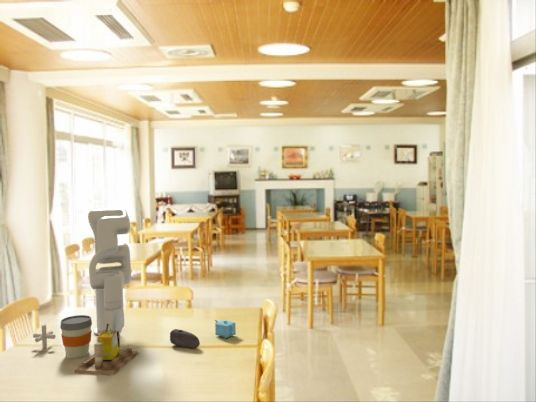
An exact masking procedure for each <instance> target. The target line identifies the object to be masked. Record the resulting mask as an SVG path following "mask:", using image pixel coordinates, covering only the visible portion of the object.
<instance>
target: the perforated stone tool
mask: <svg viewBox="0 0 536 402" xmlns="http://www.w3.org/2000/svg"><path fill="white" fill-rule="evenodd" d="M169 341H170V344H172V345H174V346H176V347H180V348H188V349H197V348H198V347H200V345H201V344H200V343H201V341H200V339H199V338H198V337H197V335H195V334H193V333H191V332H190V331H187V330H183V329H178V328H175V329H172V330H171V331H170V333H169Z"/></svg>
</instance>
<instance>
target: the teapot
mask: <svg viewBox="0 0 536 402" xmlns="http://www.w3.org/2000/svg"><path fill="white" fill-rule="evenodd" d="M214 322H215V323H214V325H215V326H214V327H215V329H214V330H215V333H214V334H215V336H218V337H219V336H222V337H221V338H224V337H225V338H227V339H228V338H230V336H232V337H233V336H235V335H236V329H237V328H236V322H233V321H230V320H226V319H223V320H220V321H218V320H217V319H214Z"/></svg>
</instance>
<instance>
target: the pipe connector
mask: <svg viewBox="0 0 536 402" xmlns="http://www.w3.org/2000/svg"><path fill="white" fill-rule="evenodd" d="M32 337H33V338H34V341H35V342H36V343H39V342H40V341H41V342H42V344H41V345H42V349H46V348H48V341H47V339H50V340H51V339H52V340H55V339H56V334H54V331H53V330H50V331H47V324H42V325H41V333H33V334H32Z"/></svg>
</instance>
